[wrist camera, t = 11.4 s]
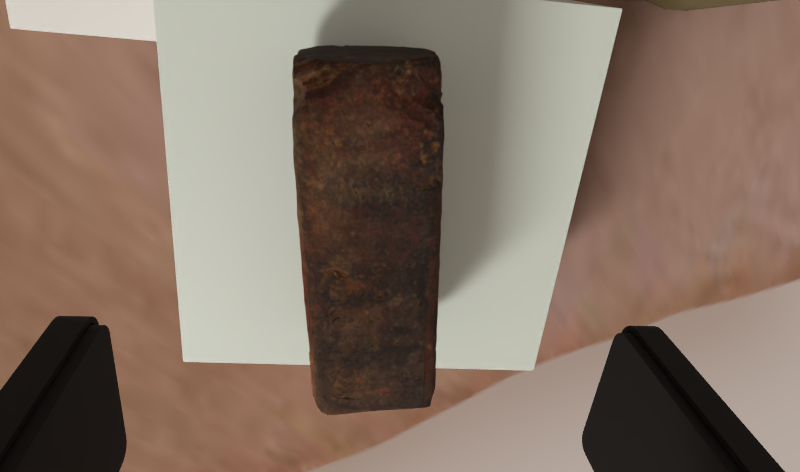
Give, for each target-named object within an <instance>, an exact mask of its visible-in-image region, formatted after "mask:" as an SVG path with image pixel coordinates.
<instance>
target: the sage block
mask: <svg viewBox="0 0 800 472" xmlns="http://www.w3.org/2000/svg"><path fill="white" fill-rule="evenodd" d="M153 3H154V15H155V27H156V39H157V51H158V63H159V75H160V88H161V100H162V112H163V124H164V136H165V148H166V160H167V172H168V184H169V196H170V208H171V220H172V232H173V244H174V256H175V268H176V280H177V292H178V304H179V316H180V329H181V341H182V353H183V362H214V363H254V364H294V365H310V360H309V351H310V349H309V339H308V332H307V321H306V310H305V303H304V287H303V278H302V263H301V251H300V238H299V226H298V219H297V194H296V181H295V171H294V160H293V130H292V117H293V97H294V91H293V78H292V71H293V58H294V56H295V55H297V54H298V51H299V50H300V49H306V48H311V47H315V46H326V45H336V46H345V45H349V46H354V45H359V46H396V47H411V48H424V49H428V50H432V51H434V52H436V55H438V57H439V60H440V62H441V72H442V87H441V92H442V93H443V94H442V97H441V103H442V104H443V106H444V108H443V114H444V133H445V136H444V147H443V187H442V216H441V241H440V270H439V289H438V318H437V342H436V368H453V369H493V370H532V371H533V370H534V366H535V362H536V358H537V354H538V350H539V346H540V342H541V338H542V333H543V329H544V325H545V321H546V317H547V313H548V309H549V305H550V301H551V297H552V293H553V289H554V285H555V281H556V277H557V273H558V269H559V264H560V260H561V256H562V252H563V248H564V244H565V240H566V236H567V232H568V228H569V224H570V220H571V216H572V212H573V208H574V204H575V200H576V195H577V191H578V187H579V183H580V179H581V175H582V171H583V167H584V163H585V159H586V155H587V151H588V147H589V143H590V139H591V135H592V131H593V127H594V122H595V118H596V114H597V110H598V106H599V102H600V98H601V94H602V90H603V86H604V82H605V78H606V74H607V70H608V66H609V62H610V58H611V53H612V49H613V45H614V41H615V37H616V33H617V29H618V25H619V21H620V17H621V13H622V9H621V8H615V7H609V6H603V5H597V4H591V3H585V2H579V1H573V0H153Z"/></svg>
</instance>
